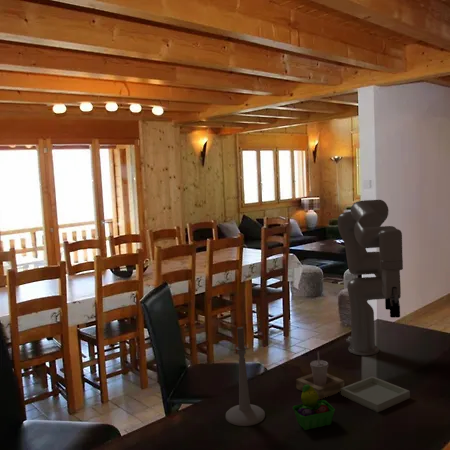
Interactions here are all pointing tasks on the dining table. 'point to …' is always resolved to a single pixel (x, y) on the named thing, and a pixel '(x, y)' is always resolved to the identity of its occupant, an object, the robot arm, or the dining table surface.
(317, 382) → the smoothie
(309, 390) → the fruit basket
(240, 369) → the candlestick
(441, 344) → the dining table surface
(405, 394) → the tray
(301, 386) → the holder
